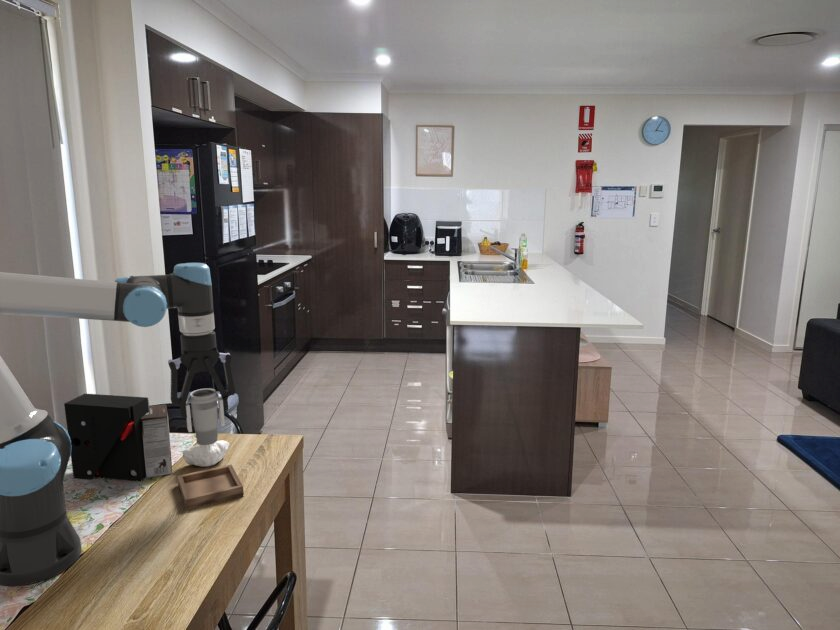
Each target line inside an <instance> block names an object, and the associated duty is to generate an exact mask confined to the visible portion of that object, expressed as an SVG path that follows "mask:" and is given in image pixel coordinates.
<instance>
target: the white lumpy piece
mask: <svg viewBox="0 0 840 630" xmlns="http://www.w3.org/2000/svg"><path fill="white" fill-rule="evenodd" d="M194 437H195V438H196V433H195V434H194ZM229 446H230V443H229V441H227V440H223V439H222V440H217V442H215V443H213V444H210V445H199V444H196V445H193V446H190V447H187V448H186V449H185V450H184V451H182V458H183V459H184V462H185V463H186V464H187V465H193V466H196V467H203V468H205V467H212V466H215V465H216V464H217V463H218V462H220V461H221V460H223V458H224V457H225V456H226V454H227V452H228V449H229V448H230V447H229Z"/></svg>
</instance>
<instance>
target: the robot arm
mask: <svg viewBox="0 0 840 630" xmlns="http://www.w3.org/2000/svg"><path fill="white" fill-rule="evenodd" d="M212 285H213V283H212V277H211V269H210V267H209V265H207V264H206V263H205V262H185V263H177V264H176V265H174V267H173V271H172V273H168V274H156V275H153V274H152V275H135V276H134V275H129V276H123V277H117V278H115V280H114V281H107V280H106V281H105V280H95V279H94V280H93V279H83V278H73V277H72V278H71V277H61V276H51V275H37V274H26V273H25V274H24V273H14V272H3V271H0V315H8V316H9V315H11V316H27V317H29V316H31V317H42V318H43V317H46V318H61V319H63V318H64V319H80V320H82V319H83V320H96V321H113V322H124V323H125V322H126V323H131V324H133V325H134V326H137V327H141V328H148V327H153V326H155V325H157V324H158V323H160V322H161V321H162V320H163V318H164V317H165V315H166V312H167V310H169V309H177V317H178V327H179V332H180V333H181V334H180V336H179V337H180V338H179V340H180V346H181V347H180V349H181V354H180V355H179V357H178V358H176V359H168V360H167V363H168V367H169V369H170V402H171V404H172V405H179V410H180V417H181V418H182V419H186V429H187V431H188V433H193V428H192V413H191V404H190V402H189V401H188V399H189V395H190V390H191V387H192V385H193V384H192V382H193V380H194V377H195V374H198V373H199V374H200V373H201V372H204V373H206V372H207V373H209V375H210V376H211V377H212V380H213V382H214V383H215V385H216V386H215V387H217V390H218V392H219V394H220V395H219V398H218V399H217V403H218V420H219V425H220V426H221V427H225V426H226V422H225V412H228V411H229V397H230V396H234V395H235V394H236V388H235V384H234V379H233V373H232V368H231V367H232V366H231V362H232V358H233V357H232V355H231V354H230V352H229V351H228V352H225V353H224V352H219V350H218V348H217V347H218V346H217V336H216V334H217V333H216V331H214V330H215V328H216V326H215V325H216V324H215V314H214V312H215V311H214V300H213V299H214V295H213V286H212ZM219 359H220V362H221V363H222V364H223V369H224V375H225V380H226V384H227V385H226V386H227V389H225V388H224V386H223V383H222V381H221V380H220V378H219V375H218V373H217V371H216V369H215V365H216V364H217V362H218V360H219ZM181 364H183V365H184V366H185V367H186V368H187V370H186V374H185V377H184V382H183V385H182V389H181V392H180V395H179V396H178V381H179V380H178V376H179V375H178V374H179V373H178V370H179V369H180V367H181V366H180V365H181ZM71 449H72V445H71V440H70V436H69V434H68V430H67V429H66V428H65V427H64V426H63V425H61V424H60V423H58V422H56V421H54V420H53V418H52V417H51V416H50V415H49V412H48V411H47V410H45V409H39V408H36V407H35V406H34V405H33V404H32V402H31V400H30V398H29V397H28V396H27V394H26V392H25V390H23V388H22V387H21V385H20V383H19V382H18V380H17V379H16V377H15V375H14V374H13V373H12V371H11V369H10V368H9V366H8V365H7V364H6V362H5V360H4V359H3V357H2V356H1V355H0V585H2V586H9V587H10V586H12V587H15V586H16V587H17V586H25V585H30V584H35V583H39V582H41V581H45V580H47V579H51V578H52V577H54V576H57V575H59V574H60V573H62V572H64V571H66V570H67V569H68V568H70V567H71V566H73V565H74V563H76V562H77V561H78V559H79V558H80V556H81V555H82V552H83V551H82V548H83V547H82V542H81V538H80V535H79V534H78V532H77V531H76V528H75V527H74V525H73V523H72V522H71V520H70V519H69V517H68V514H67V506H66V497H65V491H64V480H65V475H66V474H65V473H66V471H67V468H68V464H69V462H70V459H71Z"/></svg>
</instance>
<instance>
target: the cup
mask: <svg viewBox="0 0 840 630" xmlns="http://www.w3.org/2000/svg"><path fill="white" fill-rule="evenodd" d="M219 397H220V395H219V393H218V392H217V390H216V389H215V388H211V387H209V388H205V387H204V388H200V389H196V390H193V391H191V392H189V396H188V398H187V402H189V404H190V412H191V418H192V422H193V428H194V433H195V434H196V437H195V438H196V443H197V445H210V444H213V443H215V442H217V441H219V437H218V433H219V432H218V431H219V430H218V426H219V407H218V398H219Z"/></svg>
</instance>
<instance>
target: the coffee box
mask: <svg viewBox="0 0 840 630" xmlns="http://www.w3.org/2000/svg"><path fill="white" fill-rule="evenodd" d="M141 426H142V437H143V448H144V459H145V470H146V478H147V479H148V478H153V477H161V476H166V475H171V474H173V465H172V462H173V461H172V451H171V449H172V448H171V435H170V425H169V415H168V407H167V404H166V403H165V404H154V405H153V404H152V405H149V412H148V413H147V414H145V415H144V416H143V417H141ZM146 478H145V479H146Z"/></svg>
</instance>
